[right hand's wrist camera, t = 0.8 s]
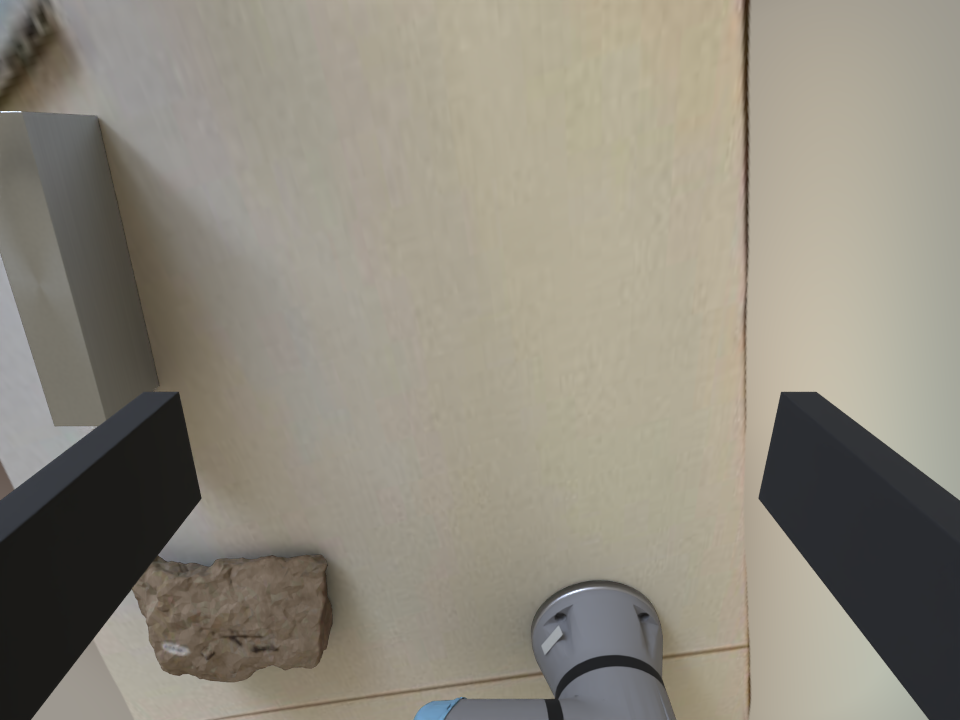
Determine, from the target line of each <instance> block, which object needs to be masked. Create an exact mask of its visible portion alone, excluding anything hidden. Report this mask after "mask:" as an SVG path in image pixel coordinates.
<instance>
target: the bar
mask: <svg viewBox="0 0 960 720" xmlns="http://www.w3.org/2000/svg"><path fill="white" fill-rule="evenodd" d="M0 253H1V257H2V260H3V263H4V266H5V269H6V273H7V276H8V279H9V282H10V285H11V288H12V292H13V295H14V298H15V301H16V304H17V308H18V311H19V314H20V317H21V320H22V324H23V327H24V330H25V333H26V336H27V340H28V343H29V346H30V349H31V352H32V356H33V359H34V362H35V365H36V368H37V372H38V375H39V378H40V381H41V384H42V388H43V391H44V394H45V397H46V400H47V403H48V407H49V410H50V413H51V416H52V419H53V423H54V426H99V425H101V424H102V423H103V422H105V421H106V420H107V419H109V418H110V417H111V416H113V415H114V414H115V413H117V412H118V411H119V410H120V409H122V408H123V407H124V406H126V405H127V404H128V403H130V402H131V401H132V400H134V399H135V398H136V397H138V396H139V395H140V394H142V393H143V392H152V391H153V390H155V389H156V388H157V387H159V382H158V378H157V374H156V369H155V365H154V361H153V356H152V352H151V347H150V343H149V339H148V334H147V330H146V326H145V321H144V317H143V313H142V308H141V304H140V300H139V295H138V291H137V287H136V282H135V278H134V274H133V269H132V265H131V261H130V256H129V252H128V248H127V243H126V239H125V235H124V230H123V226H122V222H121V217H120V213H119V209H118V204H117V200H116V195H115V191H114V187H113V182H112V178H111V174H110V169H109V165H108V161H107V156H106V152H105V148H104V143H103V139H102V135H101V130H100V126H99V122H98V117H97V116H94V115H76V114H58V113H40V112H22V111H10V112H0Z"/></svg>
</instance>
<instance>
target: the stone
mask: <svg viewBox="0 0 960 720" xmlns="http://www.w3.org/2000/svg"><path fill="white" fill-rule="evenodd" d="M326 568H327V562H326V559H325V558H324V557H323V556H322V555H311V556H310V555H304V556H297V557H291V558H283V557H276V556H273V555H271V556H266V557H260V558H258V559H245V558H239V559H228V558H223V559H217V560H215V562H214V564H213V565H212V566H210V567H207V566H203V565H200V564H197V563H188V564H182V563H180V562H179V563H177V562H173V561H170V562H166V561H165V560H163V559H162V558H161V557H159V556H157V557H156V558H155V559H154V561H153V562H152V563H151V565H150V566H149V567H148V569H147V570H146V571H145V572H144V574H143V575H142V576H141V578H140V579H139V580H138V581H137V583H136V584H135V585H134V587H133V588H132V590H133V592H134V594H135V598H136V599H137V600H138V604H139V608H140V610H141V613H142V614H143V615H144V616H145V617H146V623H147V625H148V630H149V641H150V644H151V645H152V647H153V648H154V651H155V654H156V658H157V660H158V662H159V664H160V665H161V668H162V670H163V671H166V672H168V673H169V674H173V675H177V676H180V675H182V674H190V675H194V676H196V677H198V678H199V679H206V680H210V681H221V682H237V681H242V680H245V679H247V678H249V677H250V676H251V675H252V674H253V673H254V672H255V671H256V670H258V669H262V668H265V667H267V666H271V665H274V666H277V667H280V668H282V669H283V670H287V669H290V668H293V667H304V668H313V667H315V666H317V664H318V663H319V662H320V658H321V657H322V654H323V650H325V649H326V648H327V644H328V638H329V633H330V629H331V626H332V608H331V603H330V601H329V599H328V597H327V582H326V573H325V570H326Z"/></svg>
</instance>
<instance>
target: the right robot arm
mask: <svg viewBox="0 0 960 720" xmlns="http://www.w3.org/2000/svg"><path fill="white" fill-rule="evenodd" d="M200 500H201V494H200V489H199V484H198V480H197V475H196V470H195V465H194V461H193V456H192V451H191V447H190V442H189V437H188V433H187V428H186V423H185V418H184V414H183V409H182V404H181V400H180V395H179V392H143V393H142V394H140V395H139V396H138V397H136V398H135V399H134V400H132V401H131V402H130V403H128V404H127V405H126V406H124V407H123V408H122V409H120V410H119V411H118V412H117V413H115V414H114V415H113V416H111V417H110V418H109V419H107V420H106V421H105V422H103V423H102V424H101V425H99V426H98V427H97V428H95V429H94V430H93V431H91V432H90V433H89V434H87V435H86V436H85V437H84V438H82V439H81V440H80V441H78V442H77V443H76V444H74V445H73V446H72V447H70V448H69V449H68V450H66V451H65V452H64V453H62V454H61V455H60V456H58V457H57V458H56V459H54V460H53V461H52V462H51V463H49V464H48V465H47V466H45V467H44V468H43V469H41V470H40V471H39V472H37V473H36V474H35V475H33V476H32V477H31V478H29V479H28V480H27V481H25V482H24V483H23V484H21V485H20V486H19V487H18V488H16V489H15V490H14V491H12V492H11V493H10V494H8V495H7V496H6V497H4V498H3V499H2V500H0V720H31V719H32V718H33V716H34V715H35V714H36V712H37V711H38V710H39V709H40V707H41V706H42V705H43V703H44V702H45V701H46V700H47V698H48V697H49V696H50V694H51V693H52V692H53V690H54V689H55V688H56V687H57V685H58V684H59V683H60V681H61V680H62V679H63V677H64V676H65V675H66V674H67V672H68V671H69V670H70V668H71V667H72V666H73V664H74V663H75V662H76V661H77V659H78V658H79V657H80V655H81V654H82V653H83V651H84V650H85V649H86V648H87V646H88V645H89V644H90V642H91V641H92V640H93V639H94V637H95V636H96V635H97V633H98V632H99V631H100V629H101V628H102V627H103V626H104V624H105V623H106V622H107V620H108V619H109V618H110V616H111V615H112V614H113V613H114V611H115V610H116V609H117V607H118V606H119V605H120V604H121V602H122V601H123V600H124V598H125V597H126V596H127V594H128V593H129V592H130V591H131V589H132V588H133V587H134V585H135V584H136V583H137V581H138V580H139V579H140V578H141V576H142V575H143V574H144V572H145V571H146V570H147V569H148V567H149V566H150V565H151V563H152V562H153V561H154V559H155V558H156V557H157V556H158V554H159V553H160V552H161V550H162V549H163V548H164V546H165V545H166V544H167V543H168V541H169V540H170V539H171V537H172V536H173V535H174V533H175V532H176V531H177V530H178V528H179V527H180V526H181V524H182V523H183V522H184V521H185V519H186V518H187V517H188V515H189V514H190V513H191V511H192V510H193V509H194V508H195V506H196V505H197V504H198V502H199V501H200ZM759 500H760V501H761V502H762V504H763V505H764V506H765V508H766V509H767V510H768V511H769V513H770V514H771V515H772V517H773V518H774V519H775V521H776V522H777V523H778V524H779V526H780V527H781V528H782V530H783V531H784V532H785V533H786V535H787V536H788V537H789V539H790V540H791V541H792V543H793V544H794V545H795V546H796V548H797V549H798V550H799V552H800V553H801V554H802V555H803V557H804V558H805V559H806V561H807V562H808V563H809V565H810V566H811V567H812V568H813V570H814V571H815V572H816V574H817V575H818V576H819V578H820V579H821V580H822V581H823V583H824V584H825V585H826V587H827V588H828V589H829V591H830V592H831V593H832V594H833V596H834V597H835V598H836V600H837V601H838V602H839V604H840V605H841V606H842V607H843V609H844V610H845V611H846V613H847V614H848V615H849V616H850V618H851V619H852V620H853V622H854V623H855V624H856V625H857V627H858V628H859V629H860V631H861V632H862V633H863V635H864V636H865V637H866V639H867V640H868V641H869V642H870V644H871V645H872V646H873V648H874V649H875V650H876V652H877V653H878V654H879V655H880V657H881V658H882V659H883V661H884V662H885V663H886V664H887V666H888V667H889V668H890V670H891V671H892V672H893V674H894V675H895V676H896V677H897V679H898V680H899V681H900V683H901V684H902V685H903V687H904V688H905V689H906V690H907V692H908V693H909V694H910V696H911V697H912V698H913V699H914V701H915V702H916V703H917V705H918V706H919V707H920V709H921V710H922V711H923V712H924V714H925V715H926V716H927V718H928V719H929V720H960V500H958V499H957V498H956V497H954V496H953V495H952V494H950V493H949V492H948V491H946V490H945V489H944V488H942V487H941V486H940V485H939V484H937V483H936V482H935V481H933V480H932V479H931V478H929V477H928V476H927V475H925V474H924V473H923V472H921V471H920V470H919V469H917V468H916V467H915V466H913V465H912V464H911V463H909V462H908V461H907V460H905V459H904V458H903V457H901V456H900V455H899V454H898V453H896V452H895V451H894V450H892V449H891V448H890V447H888V446H887V445H886V444H884V443H883V442H882V441H880V440H879V439H878V438H876V437H875V436H874V435H872V434H871V433H870V432H868V431H867V430H866V429H865V428H863V427H862V426H861V425H859V424H858V423H857V422H855V421H854V420H853V419H851V418H850V417H849V416H847V415H846V414H845V413H843V412H842V411H841V410H840V409H838V408H837V407H836V406H834V405H833V404H832V403H830V402H829V401H828V400H826V399H825V398H824V397H822V396H821V395H820V394H818V393H817V392H781V395H780V400H779V404H778V409H777V414H776V418H775V423H774V428H773V433H772V437H771V442H770V447H769V451H768V456H767V461H766V465H765V470H764V475H763V480H762V484H761V489H760V494H759ZM531 638H532V646H533V651H534V655H535V658H536V661H537V663H538V665H539V667H540V669H541V671H542V673H543V675H544V677H545V679H546V681H547V683H548V685H549V687H550V689H551V691H552V693H553V695H554V697H555V699H467V698H465V697H460V698H456V699H455V700H445V701H432V702H430V703H428V704H426V705H425V706H423V707H422V708H421V709H420V710H419V711H418V712H417V714H416V716H415V718H414V720H676V718H675V715H674V712H673V709H672V706H671V703H670V700H669V697H668V695H667V692H666V689H665V686H664V683H663V680H662V656H663V635H662V629H661V624H660V621H659V619H658V616H657V613H656V611H655V609H654V607H653V605H652V604H651V602H650V601H649V600H648V599H647V598H646V597H645V596H644V595H643V594H641V593H640V592H638V591H637V590H635V589H633V588H631V587H629V586H626V585H624V584H620V583H616V582H610V581H589V582H583V583H578V584H575V585H572V586H569V587H567V588H564V589H562V590H560V591H559V592H557V593H555V594H554V595H552V596H551V597H550V598H549V599H547V600H546V601H545V602H544V603H543V605H542V606H541V607H540V608H539V610H538V611H537V613H536V615H535V617H534V620H533V623H532V628H531Z"/></svg>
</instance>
